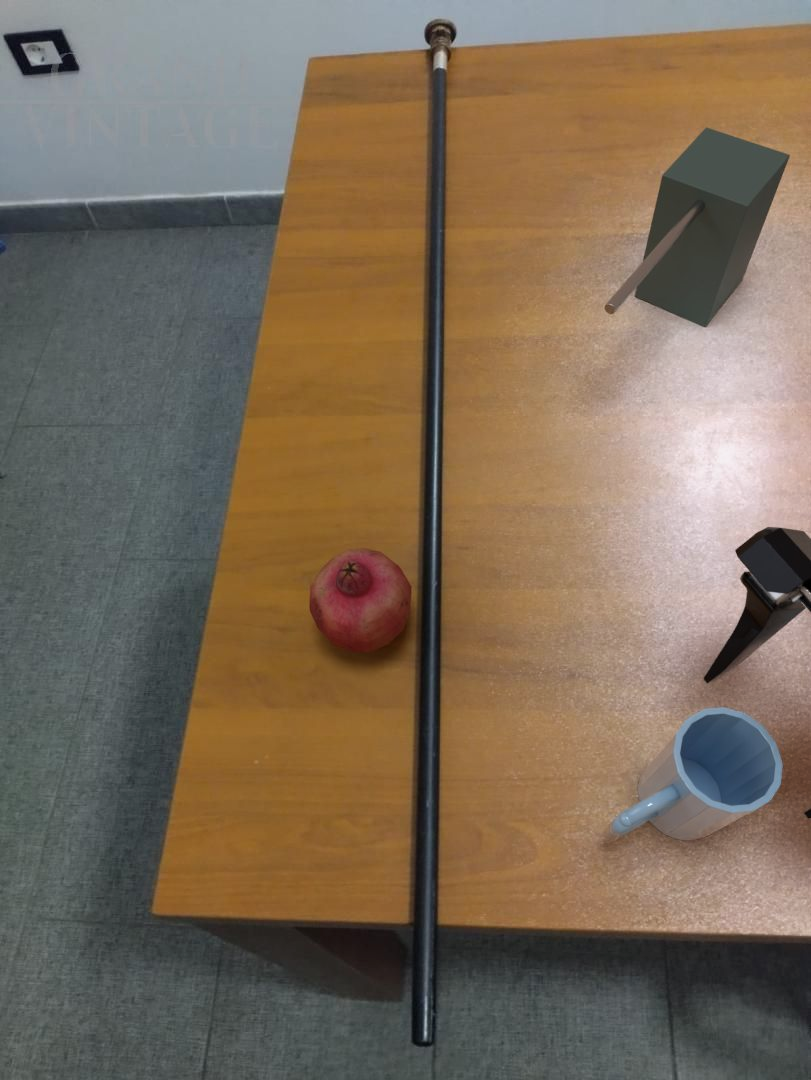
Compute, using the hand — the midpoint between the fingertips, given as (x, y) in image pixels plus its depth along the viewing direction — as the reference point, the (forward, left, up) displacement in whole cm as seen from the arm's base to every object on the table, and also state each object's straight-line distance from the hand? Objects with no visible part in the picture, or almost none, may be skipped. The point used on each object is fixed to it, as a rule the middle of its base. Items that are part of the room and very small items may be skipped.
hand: (754, 744), depth 46 cm
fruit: (+27, -9, -10) cm, 31 cm away
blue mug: (+4, +3, -10) cm, 11 cm away
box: (+4, -44, -10) cm, 45 cm away
